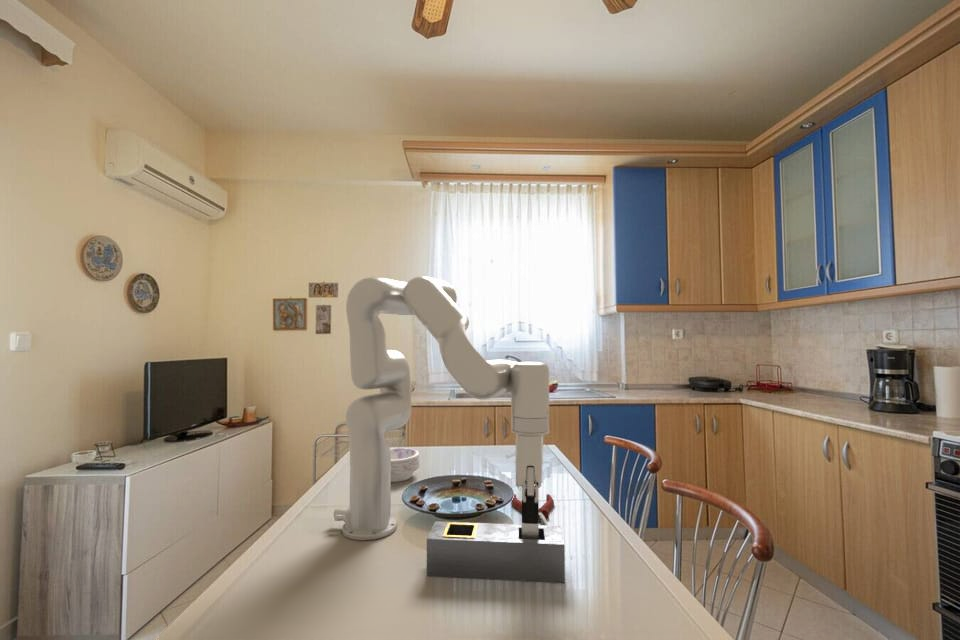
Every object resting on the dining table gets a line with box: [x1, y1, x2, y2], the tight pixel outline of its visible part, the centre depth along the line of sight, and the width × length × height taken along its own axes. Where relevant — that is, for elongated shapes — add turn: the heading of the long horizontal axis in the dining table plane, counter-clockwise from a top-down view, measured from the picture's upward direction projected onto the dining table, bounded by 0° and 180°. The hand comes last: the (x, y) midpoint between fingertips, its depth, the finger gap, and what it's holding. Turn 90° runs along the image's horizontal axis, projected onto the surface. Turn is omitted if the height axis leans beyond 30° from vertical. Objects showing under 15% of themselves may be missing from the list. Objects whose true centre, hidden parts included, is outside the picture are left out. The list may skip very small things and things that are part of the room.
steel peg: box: [521, 483, 540, 540], centre depth 85 cm, size 3×3×13 cm
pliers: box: [511, 493, 555, 526], centre depth 111 cm, size 12×20×3 cm, turn 1°
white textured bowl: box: [390, 447, 421, 483], centre depth 141 cm, size 15×15×8 cm
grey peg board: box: [426, 520, 566, 584], centre depth 85 cm, size 26×8×7 cm, turn 84°
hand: (529, 517), depth 85 cm, fingers closed on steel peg, 3 cm apart
